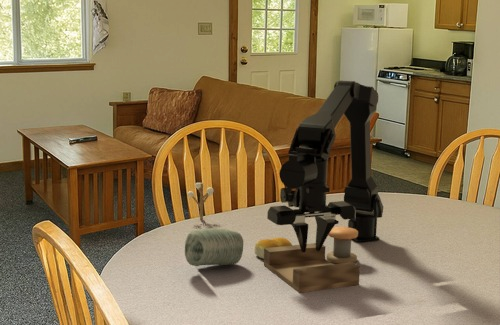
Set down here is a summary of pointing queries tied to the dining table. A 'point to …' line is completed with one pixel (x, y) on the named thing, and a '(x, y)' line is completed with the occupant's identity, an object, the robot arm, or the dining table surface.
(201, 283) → the dining table surface
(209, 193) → the cotton branch
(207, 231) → the spool
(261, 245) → the bread roll
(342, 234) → the orange capped knob
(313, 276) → the notch board
